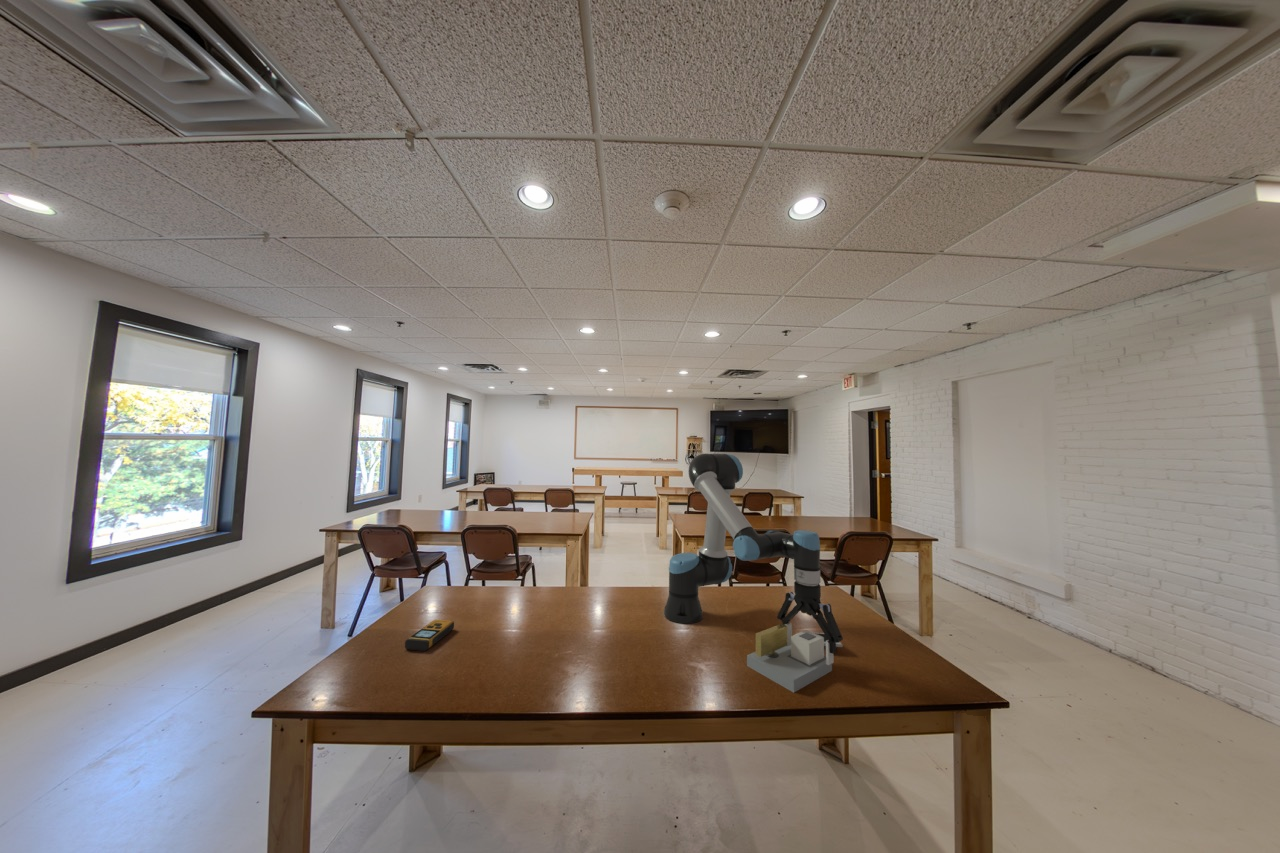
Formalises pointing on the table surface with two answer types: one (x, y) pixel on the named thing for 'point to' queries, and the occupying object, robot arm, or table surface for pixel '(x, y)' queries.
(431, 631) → the electronic device
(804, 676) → the housing
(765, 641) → the yellow rectangular block
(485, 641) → the table surface
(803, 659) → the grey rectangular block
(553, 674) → the table surface
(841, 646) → the smartphone
